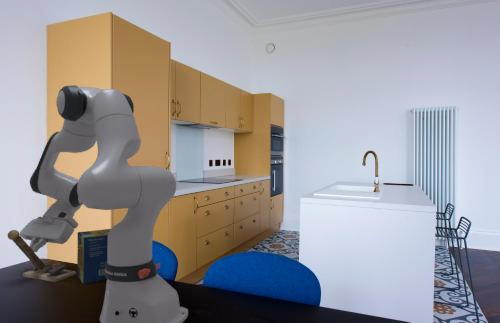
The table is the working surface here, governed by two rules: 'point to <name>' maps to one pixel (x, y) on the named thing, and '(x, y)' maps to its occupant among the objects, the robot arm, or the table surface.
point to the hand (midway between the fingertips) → (31, 251)
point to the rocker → (57, 269)
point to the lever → (26, 249)
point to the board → (46, 276)
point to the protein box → (92, 255)
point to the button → (55, 265)
